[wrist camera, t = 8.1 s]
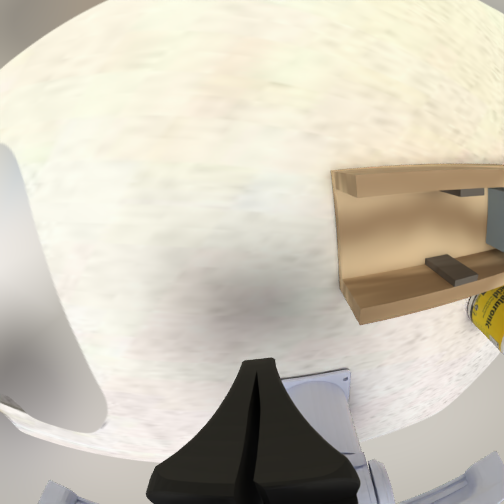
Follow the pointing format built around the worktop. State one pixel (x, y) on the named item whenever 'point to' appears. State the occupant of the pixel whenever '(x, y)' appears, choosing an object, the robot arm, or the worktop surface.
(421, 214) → the chute
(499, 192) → the block
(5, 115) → the worktop surface
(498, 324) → the supplement bottle
